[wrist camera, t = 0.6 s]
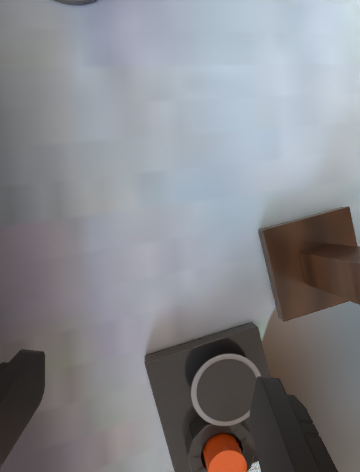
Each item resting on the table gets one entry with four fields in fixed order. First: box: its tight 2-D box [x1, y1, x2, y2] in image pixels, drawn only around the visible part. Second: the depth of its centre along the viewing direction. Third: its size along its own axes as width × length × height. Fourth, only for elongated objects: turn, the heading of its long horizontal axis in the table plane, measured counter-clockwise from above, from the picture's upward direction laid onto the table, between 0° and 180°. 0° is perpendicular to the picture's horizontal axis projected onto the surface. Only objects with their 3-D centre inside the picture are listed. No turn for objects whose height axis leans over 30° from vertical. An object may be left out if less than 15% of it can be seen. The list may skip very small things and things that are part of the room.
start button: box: [203, 433, 247, 472], centre depth 26 cm, size 4×4×2 cm
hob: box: [145, 322, 270, 472], centre depth 29 cm, size 14×12×4 cm
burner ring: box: [191, 354, 261, 426], centre depth 27 cm, size 7×7×1 cm
